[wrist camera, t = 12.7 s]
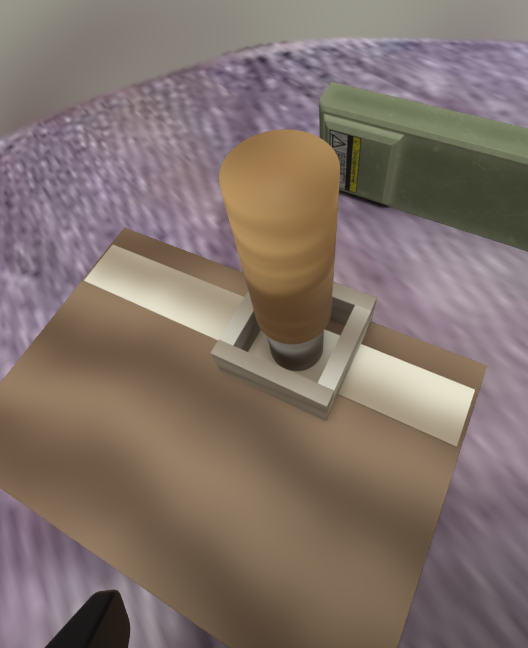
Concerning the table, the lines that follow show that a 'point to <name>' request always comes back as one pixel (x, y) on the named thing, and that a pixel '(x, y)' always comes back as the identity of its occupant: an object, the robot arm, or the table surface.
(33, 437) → the board
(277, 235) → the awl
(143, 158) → the table surface
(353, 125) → the handheld radio
